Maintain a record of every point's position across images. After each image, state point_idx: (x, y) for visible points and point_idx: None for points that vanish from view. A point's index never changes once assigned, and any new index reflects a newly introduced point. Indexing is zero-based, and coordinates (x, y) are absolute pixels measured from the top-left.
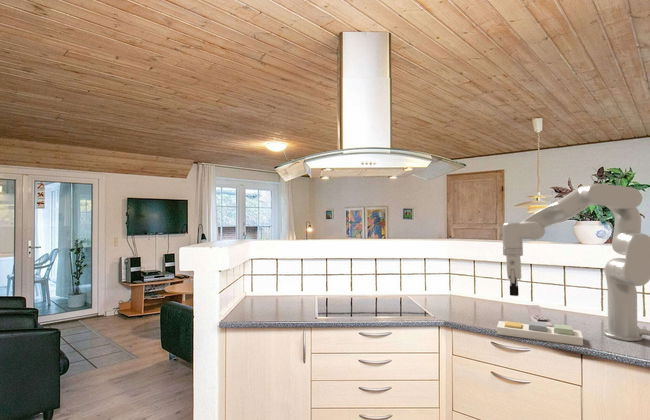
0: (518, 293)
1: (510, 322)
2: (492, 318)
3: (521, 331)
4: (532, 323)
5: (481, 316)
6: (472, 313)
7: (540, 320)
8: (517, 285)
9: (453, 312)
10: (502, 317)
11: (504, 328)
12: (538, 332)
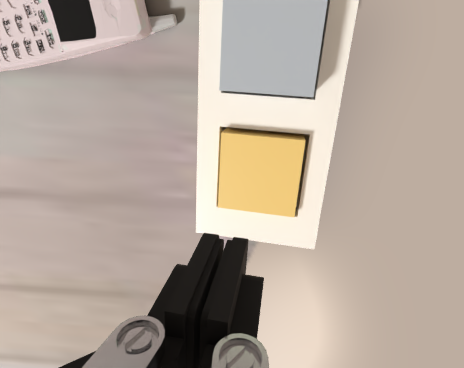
0: (203, 241)
1: (234, 188)
2: (72, 232)
3: (333, 137)
4: (272, 76)
5: (67, 269)
6: (44, 296)
7: (72, 20)
8: (161, 324)
9: (71, 353)
10: (32, 193)
11: (319, 216)
12: (350, 45)
